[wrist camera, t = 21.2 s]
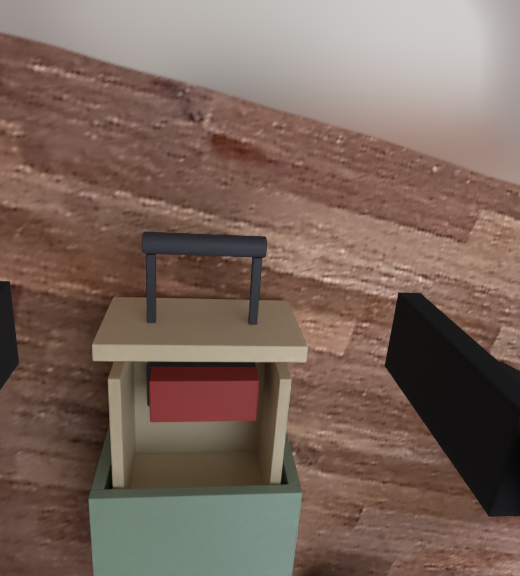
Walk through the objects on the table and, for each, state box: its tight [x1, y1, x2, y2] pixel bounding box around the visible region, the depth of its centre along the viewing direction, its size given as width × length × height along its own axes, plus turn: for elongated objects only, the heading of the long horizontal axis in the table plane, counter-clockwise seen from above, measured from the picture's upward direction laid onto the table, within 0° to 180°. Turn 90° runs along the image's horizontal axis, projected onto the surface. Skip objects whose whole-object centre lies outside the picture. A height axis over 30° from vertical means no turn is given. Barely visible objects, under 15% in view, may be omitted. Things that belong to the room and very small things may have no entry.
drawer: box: [92, 232, 308, 489], centre depth 36 cm, size 21×14×8 cm, turn 176°
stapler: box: [146, 361, 259, 422], centre depth 36 cm, size 8×3×5 cm, turn 87°
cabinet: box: [88, 424, 302, 576], centre depth 41 cm, size 16×15×10 cm
